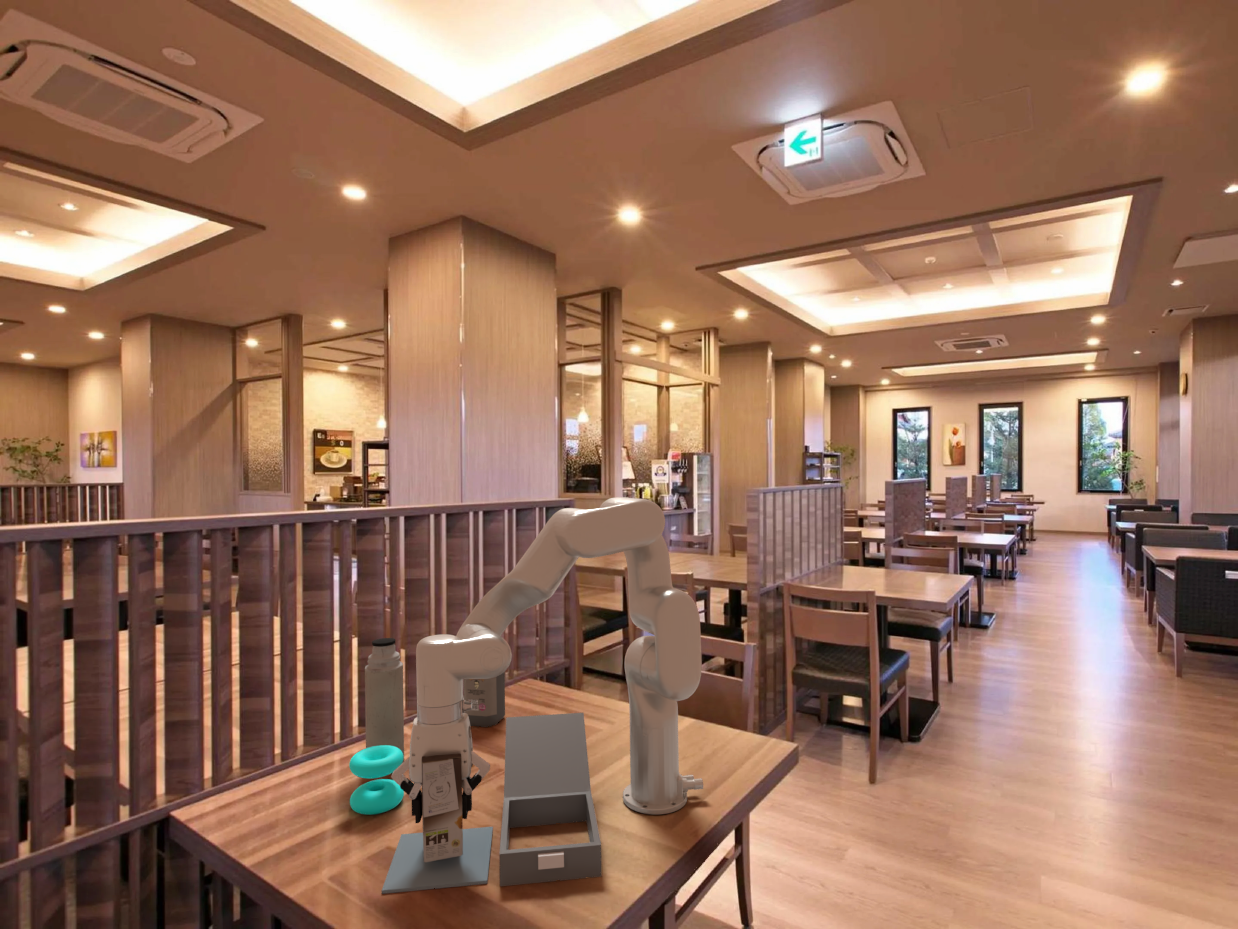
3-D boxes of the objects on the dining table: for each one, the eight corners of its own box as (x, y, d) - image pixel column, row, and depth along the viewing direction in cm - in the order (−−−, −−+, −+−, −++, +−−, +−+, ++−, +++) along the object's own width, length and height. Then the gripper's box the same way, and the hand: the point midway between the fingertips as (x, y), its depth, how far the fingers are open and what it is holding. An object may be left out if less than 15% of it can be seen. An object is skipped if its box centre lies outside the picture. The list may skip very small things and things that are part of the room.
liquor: (493, 728, 168) (492, 609, 168) (460, 725, 170) (459, 608, 170) (508, 715, 177) (506, 602, 177) (476, 712, 179) (474, 601, 179)
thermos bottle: (373, 759, 151) (371, 635, 151) (408, 758, 151) (407, 634, 151) (360, 775, 143) (359, 644, 143) (398, 774, 143) (396, 644, 143)
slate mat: (492, 829, 120) (492, 826, 120) (487, 883, 105) (487, 880, 105) (401, 837, 118) (401, 834, 118) (381, 893, 102) (381, 890, 102)
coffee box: (464, 856, 108) (462, 757, 108) (423, 864, 106) (421, 763, 106) (460, 827, 117) (458, 735, 117) (422, 834, 115) (420, 741, 115)
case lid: (590, 791, 124) (590, 794, 124) (583, 712, 139) (583, 715, 140) (503, 798, 122) (504, 801, 122) (506, 717, 137) (506, 720, 138)
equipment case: (591, 818, 124) (590, 791, 124) (602, 879, 105) (601, 847, 105) (504, 825, 122) (503, 798, 122) (499, 889, 103) (499, 857, 103)
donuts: (337, 761, 127) (370, 740, 136) (338, 814, 127) (371, 789, 136) (383, 767, 124) (413, 745, 134) (383, 820, 124) (414, 795, 134)
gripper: (494, 699, 117) (496, 801, 116) (391, 706, 114) (393, 810, 114) (491, 715, 109) (493, 824, 109) (381, 723, 107) (383, 834, 107)
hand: (442, 816), depth 112 cm, fingers closed on coffee box, 7 cm apart
